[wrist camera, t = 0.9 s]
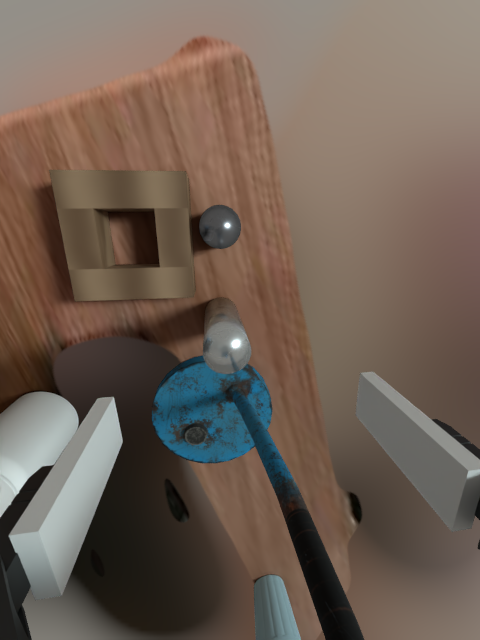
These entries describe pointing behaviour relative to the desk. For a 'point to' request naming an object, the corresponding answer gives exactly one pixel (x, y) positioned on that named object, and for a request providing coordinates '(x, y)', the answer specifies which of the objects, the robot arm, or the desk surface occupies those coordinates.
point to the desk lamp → (235, 440)
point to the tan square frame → (96, 242)
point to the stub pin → (220, 226)
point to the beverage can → (32, 439)
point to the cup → (273, 610)
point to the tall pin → (224, 338)
